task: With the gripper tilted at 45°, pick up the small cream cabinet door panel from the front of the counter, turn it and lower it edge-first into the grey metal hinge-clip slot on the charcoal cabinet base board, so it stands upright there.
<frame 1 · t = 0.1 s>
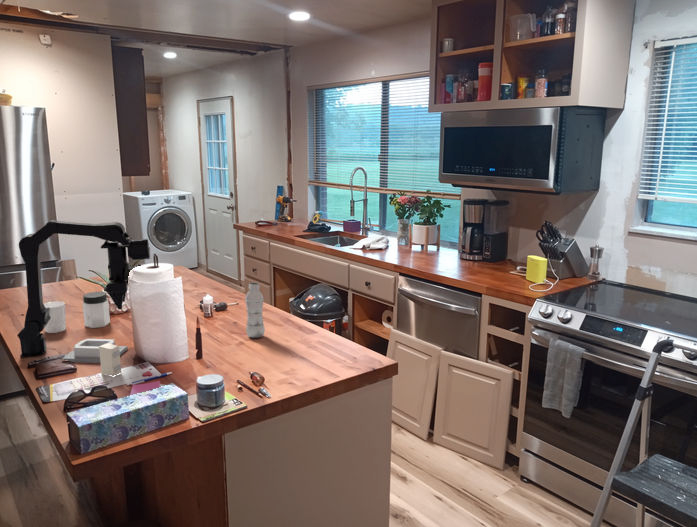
hand: (121, 305, 188), 15 cm above the worktop, tool pointing down, fingers open, 9 cm apart
plastic bottle: (255, 337, 202), on the worktop
hinge base: (95, 355, 183), on the worktop
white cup: (55, 330, 206), on the worktop
jar: (97, 325, 213), on the worktop
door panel: (111, 373, 169), on the worktop
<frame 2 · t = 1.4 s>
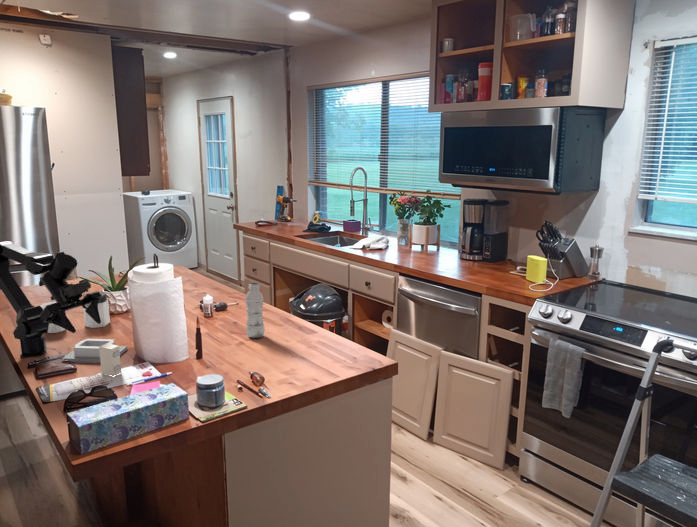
hand: (87, 327, 170), 13 cm above the worktop, tool tilted 45°, fingers open, 9 cm apart
nothing on the worktop moved.
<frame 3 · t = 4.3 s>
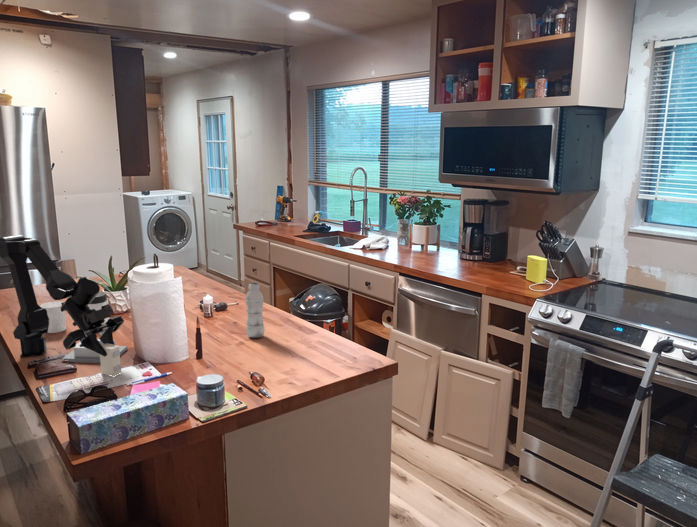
hand: (110, 353, 167), 7 cm above the worktop, tool tilted 45°, fingers closed on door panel, 3 cm apart
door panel: (111, 373, 169), on the worktop, touching gripper
everything else where it was.
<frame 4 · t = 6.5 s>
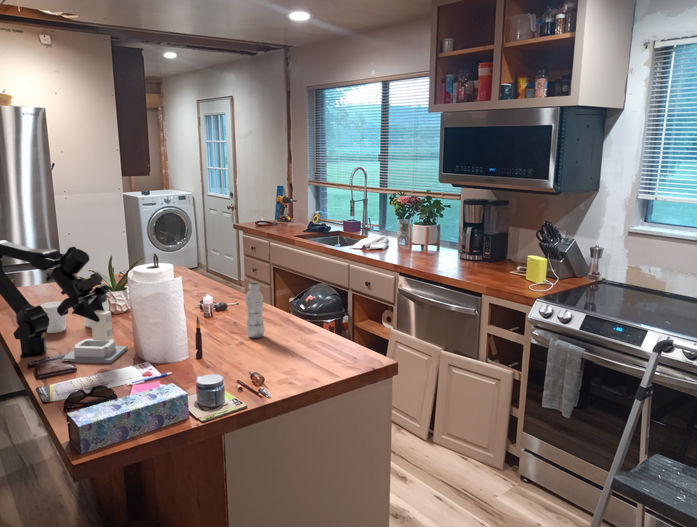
hand: (102, 319, 175), 14 cm above the worktop, tool tilted 45°, fingers closed on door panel, 3 cm apart
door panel: (102, 339, 176), point 8 cm above the worktop, touching gripper
everything else where it was.
when the fingers open (9 cm above the worktop, at t = 8.5 s): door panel drops 1 cm, resting on hinge base.
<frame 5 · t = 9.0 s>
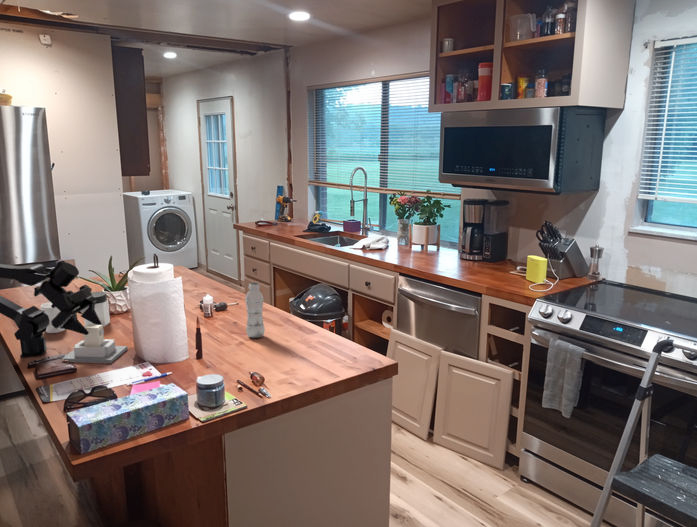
hand: (94, 329, 181), 9 cm above the worktop, tool tilted 45°, fingers open, 8 cm apart
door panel: (95, 352, 183), point 1 cm above the worktop, touching hinge base
everything else where it was.
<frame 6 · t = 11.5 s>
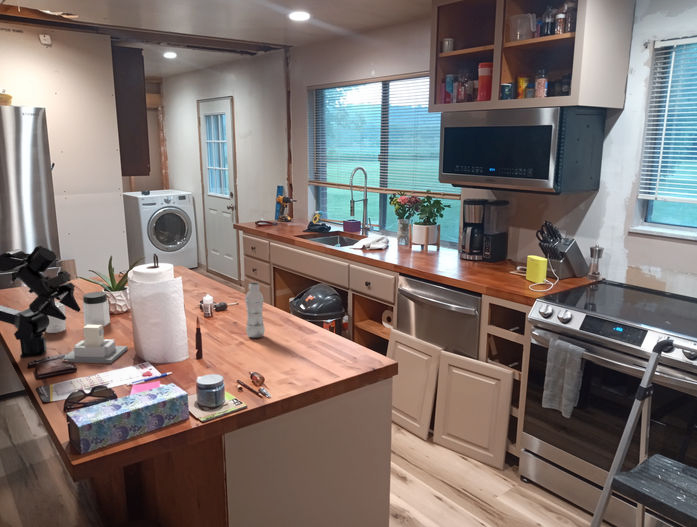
hand: (72, 315, 180), 14 cm above the worktop, tool tilted 45°, fingers open, 9 cm apart
nothing on the worktop moved.
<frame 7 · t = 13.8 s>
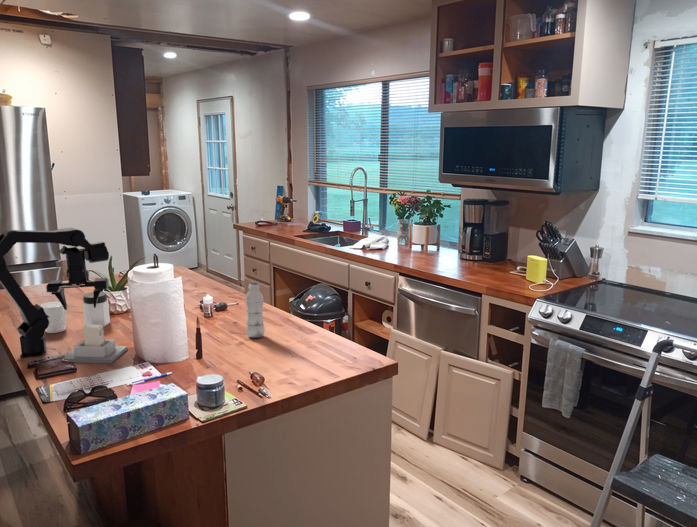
hand: (80, 308, 193), 12 cm above the worktop, tool pointing down, fingers open, 9 cm apart
nothing on the worktop moved.
at the end: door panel 0.0 cm off-centre on the hinge base, point 1.2 cm above the hinge base's base; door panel tilted 0°; the gripper is holding nothing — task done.
